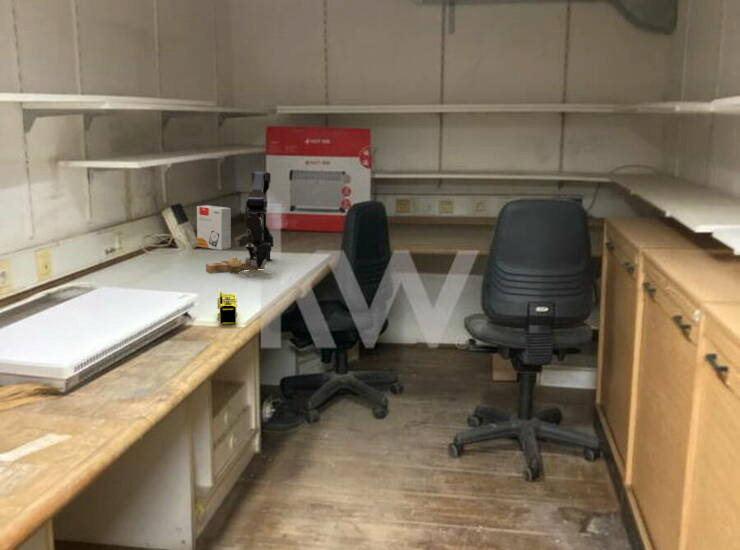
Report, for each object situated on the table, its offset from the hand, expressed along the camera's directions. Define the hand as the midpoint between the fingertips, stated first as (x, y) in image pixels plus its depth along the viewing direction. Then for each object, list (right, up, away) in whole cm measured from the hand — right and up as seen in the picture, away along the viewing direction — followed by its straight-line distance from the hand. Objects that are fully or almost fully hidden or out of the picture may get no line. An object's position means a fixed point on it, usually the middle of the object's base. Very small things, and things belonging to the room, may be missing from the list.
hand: (256, 265), depth 282 cm
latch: (-9, 0, 0) cm, 9 cm away
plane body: (-10, -2, +6) cm, 11 cm away
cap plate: (0, +1, 0) cm, 1 cm away
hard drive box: (-30, +9, +60) cm, 68 cm away
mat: (0, -3, 0) cm, 3 cm away
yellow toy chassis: (+2, -18, -68) cm, 71 cm away
